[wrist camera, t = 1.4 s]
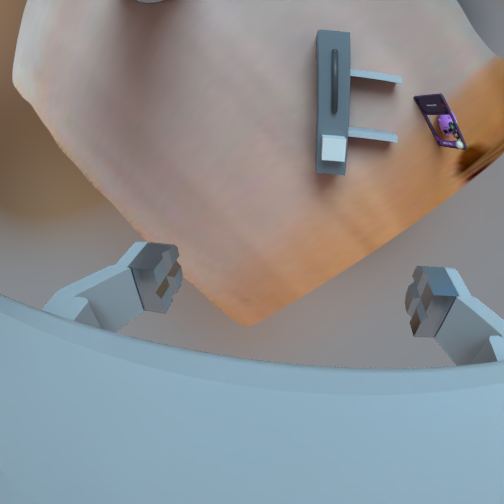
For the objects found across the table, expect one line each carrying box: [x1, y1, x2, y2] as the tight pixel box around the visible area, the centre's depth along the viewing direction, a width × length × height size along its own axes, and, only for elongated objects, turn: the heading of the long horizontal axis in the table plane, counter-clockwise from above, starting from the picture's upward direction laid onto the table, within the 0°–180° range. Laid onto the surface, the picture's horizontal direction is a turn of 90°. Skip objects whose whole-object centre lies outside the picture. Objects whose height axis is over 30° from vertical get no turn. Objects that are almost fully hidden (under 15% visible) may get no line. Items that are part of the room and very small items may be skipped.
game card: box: [414, 94, 467, 150], centre depth 32 cm, size 7×5×9 cm
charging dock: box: [315, 30, 402, 175], centre depth 33 cm, size 20×12×8 cm, turn 2°
